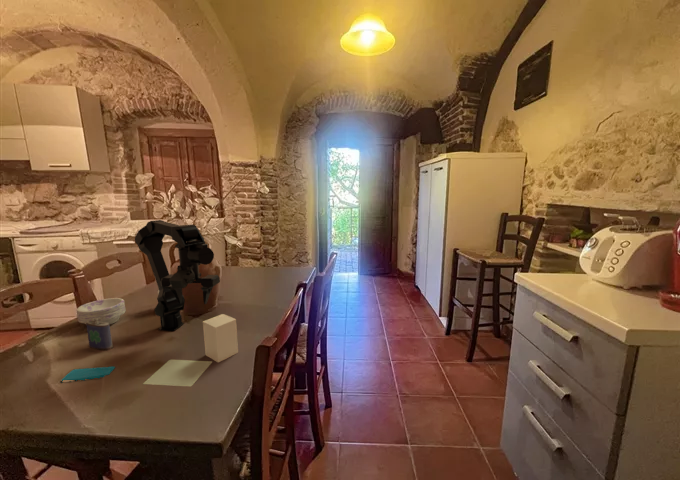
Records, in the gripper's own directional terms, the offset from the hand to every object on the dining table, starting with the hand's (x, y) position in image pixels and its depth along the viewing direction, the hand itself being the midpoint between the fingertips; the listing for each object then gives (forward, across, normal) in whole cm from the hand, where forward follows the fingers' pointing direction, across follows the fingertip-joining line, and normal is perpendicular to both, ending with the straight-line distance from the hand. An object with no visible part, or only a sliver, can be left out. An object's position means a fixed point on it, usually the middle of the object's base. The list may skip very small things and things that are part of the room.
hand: (193, 303), depth 108 cm
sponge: (+14, -19, -24) cm, 33 cm away
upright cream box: (+13, +15, -10) cm, 22 cm away
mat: (+13, +7, -21) cm, 26 cm away
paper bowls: (+13, -44, +9) cm, 47 cm away
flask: (+13, -29, -9) cm, 33 cm away
